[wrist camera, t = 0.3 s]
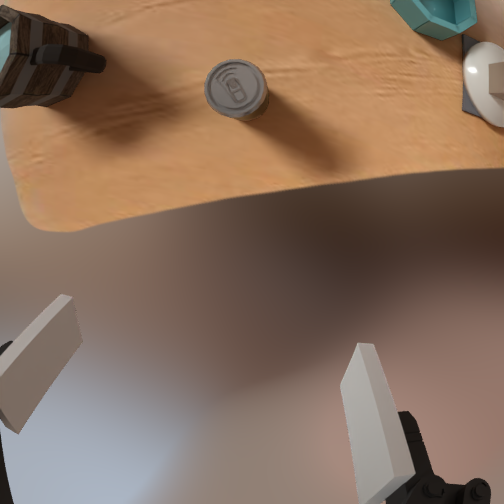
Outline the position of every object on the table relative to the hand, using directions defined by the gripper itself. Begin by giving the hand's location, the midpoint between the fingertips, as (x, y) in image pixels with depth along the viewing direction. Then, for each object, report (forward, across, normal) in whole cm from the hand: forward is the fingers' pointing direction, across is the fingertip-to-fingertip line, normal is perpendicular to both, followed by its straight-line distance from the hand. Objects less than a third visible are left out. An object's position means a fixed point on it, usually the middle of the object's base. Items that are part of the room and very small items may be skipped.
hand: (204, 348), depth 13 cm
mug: (+28, -28, +18) cm, 44 cm away
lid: (+27, +32, +24) cm, 49 cm away
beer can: (+28, -2, +12) cm, 31 cm away
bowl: (+28, +20, +33) cm, 47 cm away
